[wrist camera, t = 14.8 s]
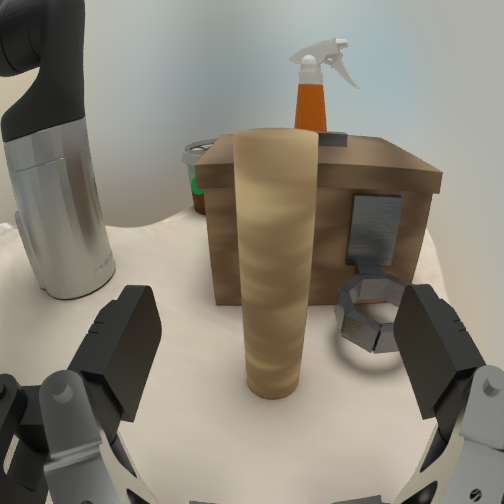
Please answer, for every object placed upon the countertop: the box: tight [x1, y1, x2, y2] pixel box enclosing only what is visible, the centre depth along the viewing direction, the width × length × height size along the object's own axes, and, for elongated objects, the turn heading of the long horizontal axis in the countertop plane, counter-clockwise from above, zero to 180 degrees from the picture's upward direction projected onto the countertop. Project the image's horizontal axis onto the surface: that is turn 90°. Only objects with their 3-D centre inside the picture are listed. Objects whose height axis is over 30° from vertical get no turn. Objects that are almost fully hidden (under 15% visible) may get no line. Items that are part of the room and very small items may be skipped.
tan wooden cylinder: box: [233, 128, 318, 399], centre depth 16 cm, size 4×4×16 cm
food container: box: [182, 138, 218, 215], centre depth 46 cm, size 12×6×10 cm, turn 9°
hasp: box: [334, 193, 413, 354], centre depth 20 cm, size 7×8×8 cm
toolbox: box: [195, 131, 443, 305], centre depth 30 cm, size 19×15×14 cm
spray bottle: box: [289, 39, 359, 132], centre depth 42 cm, size 7×11×26 cm, turn 63°
